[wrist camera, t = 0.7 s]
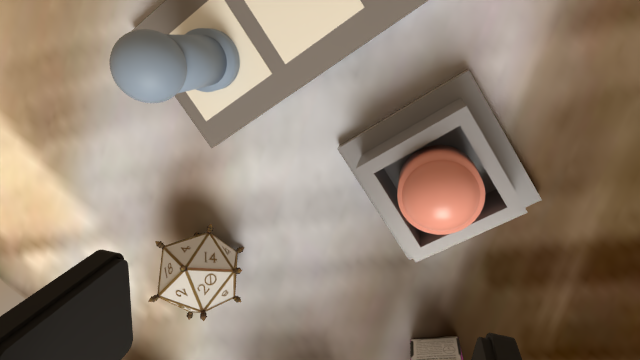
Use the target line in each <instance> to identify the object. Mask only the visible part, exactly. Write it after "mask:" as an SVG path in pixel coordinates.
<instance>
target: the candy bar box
mask: <svg viewBox="0 0 640 360" xmlns="http://www.w3.org/2000/svg"><path fill="white" fill-rule="evenodd" d="M410 348H411V360H463V356H462V351H461V347H460V343H459V338H458V337H456V336H451V337H448V336H447V337H439V338H423V339H411V340H410Z"/></svg>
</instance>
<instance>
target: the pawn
mask: <svg viewBox="0 0 640 360" xmlns="http://www.w3.org/2000/svg"><path fill="white" fill-rule="evenodd" d="M239 67H240V57H239V53H238V50H237V47H236V45H235V44H234V42H233V41H232V39H231V38H230V37H229V36H228V35H226V34H225V33H223V32H222V31H219V30H216V29H211V28H197V29H193V30H191V31H189V32H187V33H186V34H185V35H174V34H163V33H161V32H158V31H155V30H149V29H139V30H134V31H131V32H129V33H127V34H125V35H124V36H122V37H121V38H120V39H119V40H118V41H117V42H116V44H115V45H114V47H113V49H112V52H111V55H110V70H111V74H112V76H113V79H114V81H115V82H116V84H117V85H118V87H119V88H120V89H121V90H122V91H123V92H124V93H125V94H127V95H128V96H130V97H131V98H133V99H135V100H138V101H141V102H145V103H160V102H164V101H166V100H169V99H171V98H172V97H174V96H175V95H176V94H177V93H182V92H186V91H190V90H194V89H196V90H198V91H202V92H213V91H216V90H220V89H223V88H226V87H227V86H229V85H230V84H231V83H232V82H233V81H234V80H235V78H236V77H237V75H238V72H239Z"/></svg>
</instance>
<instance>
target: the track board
mask: <svg viewBox="0 0 640 360" xmlns="http://www.w3.org/2000/svg"><path fill="white" fill-rule="evenodd" d="M427 1H428V0H166V1H164V2H163V3H162V4H161V5H160V6H159V7H158V8H157V9H156V10H154V11H153V12H152V13H151V14H150V15H149V16H148V17H147V18H146V19H144V20H143V21H142V22H141V23H140V24H139V25H138V26H137V27H136V28H134V29H133V30H132V31H134V30H139V29H149V30H155V31H158V32H161V33H163V34H174V35H185V34H186V33H187V32H189V31H191V30H193V29H197V28H211V29H216V30H219V31H222V32H223V33H225V34H226V35H228V36H229V37H230V38H231V39H232V41H233V42H234V44H235V45H236V47H237V50H238V53H239V57H240V67H239V72H238V75H237V77H236V78H235V80H234V81H233V82H232V83H231V84H230V85H229V86H227V87H226V88H223V89H220V90H216V91H213V92H202V91H198V90H196V89H194V90H190V91H186V92H182V93H177V94H176V95H175V97H176V98H177V100H178V101H179V103H180V104H181V106H182V107H183V108H184V110H185V111H186V113H187V114H188V116H189V117H190V118H191V120H192V121H193V123H194V124H195V126H196V127H197V128H198V130H199V131H200V133H201V134H202V135H203V137H204V138H205V140H206V141H207V143H208V144H209V145H210V147H211V148H213V147H215V146H216V145H218V144H219V143H221V142H222V141H224V140H225V139H227V138H228V137H229V136H231V135H232V134H234V133H235V132H237V131H238V130H240V129H241V128H243V127H244V126H246V125H247V124H248V123H250V122H251V121H253V120H254V119H256V118H257V117H259V116H260V115H262V114H263V113H265V112H266V111H267V110H269V109H270V108H272V107H273V106H275V105H276V104H278V103H279V102H281V101H282V100H284V99H285V98H286V97H288V96H289V95H291V94H292V93H294V92H295V91H297V90H298V89H300V88H301V87H303V86H304V85H305V84H307V83H308V82H310V81H311V80H313V79H314V78H316V77H317V76H319V75H320V74H322V73H323V72H324V71H326V70H327V69H329V68H330V67H332V66H333V65H335V64H336V63H338V62H339V61H341V60H342V59H343V58H345V57H346V56H348V55H349V54H351V53H352V52H354V51H355V50H357V49H358V48H360V47H361V46H362V45H364V44H365V43H367V42H368V41H370V40H371V39H373V38H374V37H376V36H377V35H379V34H380V33H381V32H383V31H384V30H386V29H387V28H389V27H390V26H392V25H393V24H395V23H396V22H398V21H399V20H400V19H402V18H403V17H405V16H406V15H408V14H409V13H411V12H412V11H414V10H415V9H417V8H418V7H419V6H421V5H422V4H424V3H425V2H427Z"/></svg>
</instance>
